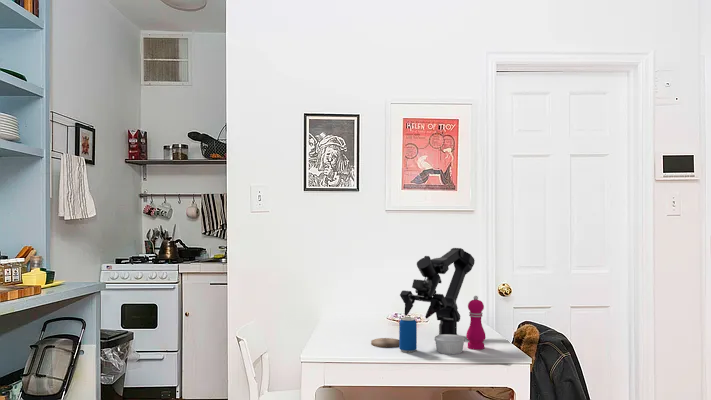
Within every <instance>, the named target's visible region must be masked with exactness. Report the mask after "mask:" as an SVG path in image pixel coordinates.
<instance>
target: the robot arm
mask: <svg viewBox="0 0 711 400" xmlns="http://www.w3.org/2000/svg"><path fill="white" fill-rule="evenodd" d="M475 261H476V260H475V258H474V256H472V254H471V253H469V252H468V251H465V249H463V248H461V247H453V248H450V250H449V251H447V252H446V253H445V254H443V255H442V256H440V257H436V258H435V257H434V258H432V259H431V257H430V256H429V255H425V256H424V257H423V258H420V259H419V260H417V262H416V266H417V268H418V271H419V272H420V274H421V276H422V277H424V279H417V278H416V279H413V280H412V281H413V282H412V284H411V285H412V286H411V288H412V289H415V293H416V294H413V293H412V290H401V291H400V293H399V296H400V297H401V300H402V301H403V303H404V316H405V317H407V315H409V313H410V311H411V310H412V309H413V307H414V304H415V302H416V301H418V302H425V303H430V304H429V307H428V309H427V311H426V313H425V317H424V318H425V319H428V318H430V317H431V316H432V315H434V314H435V316H436V320H437V321H440V322H439V325H438V335H443V334H450V335H458V333H457V332H458V330H457V329H458V328H457V327H458V324H457V323H459V322H460V321H461V314H460V312H459V311H458V309H459V307H458V305H457V300H458V297H459V294H460V291H461V288H462V286H463V283H464V280H465V278H466V275H467V274H468V273H470V272H471V271H472V269H473V267H474V265H475ZM452 264H453V267H454V272H453V275H452V277H451V280H450V282H449V283H450V284H449V286H448V288H447V290H446V294H445V295H444V294H443V293H442V294H441V293H437V290H436V289H437V288H438V285H439V284H442V279H441V276H440V275H445V274H447V272H448V271H449V269H450V268H449V266H451V265H452Z"/></svg>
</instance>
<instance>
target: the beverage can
mask: <svg viewBox="0 0 711 400" xmlns="http://www.w3.org/2000/svg"><path fill="white" fill-rule="evenodd" d="M398 324H399V325H398V326H399V328H398V329H399V331H398V334H399V339H398V340H399V346H398V348H399V350H400V351H401V352H404V353H413V352H415V351H417V346H418V345H417V340H418V339H417V336H418V335H417V330H418V329H417V327H418V326H417V324H418V323H417V320H416V318H415V317H410V316H408V317H407V316H405V317H400V320H399V322H398Z"/></svg>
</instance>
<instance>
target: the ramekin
mask: <svg viewBox="0 0 711 400" xmlns="http://www.w3.org/2000/svg"><path fill="white" fill-rule="evenodd" d="M465 339H466V338H465V337H464V336H462V335H459V334H457V335H450V334H443V335H440V334H438V335H437V334H436V335H435V336H434V341H435V342H434V343H435V347H436V351H437V352H438V353H441V354H444V355H459V354H461V353H462V352H463V351H464V343H465Z"/></svg>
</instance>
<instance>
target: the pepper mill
mask: <svg viewBox="0 0 711 400" xmlns="http://www.w3.org/2000/svg"><path fill="white" fill-rule="evenodd" d="M467 308H468V310H469V314H468V315H469V317H470V323H469V327H468V329H467V330H466V338H465V339H467V340H468V342H467V348H468V349H469V350H476V351H478V350H479V351H480V350H485V343H484V341H485V340H486V332H485V329H484V327H483V324H482V317H483V310H484V309H485V306H484V303H483V301H481V300H480V299H479V296H478V295H474V296H473V299H472V300H470V301H469V302H468V304H467Z"/></svg>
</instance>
